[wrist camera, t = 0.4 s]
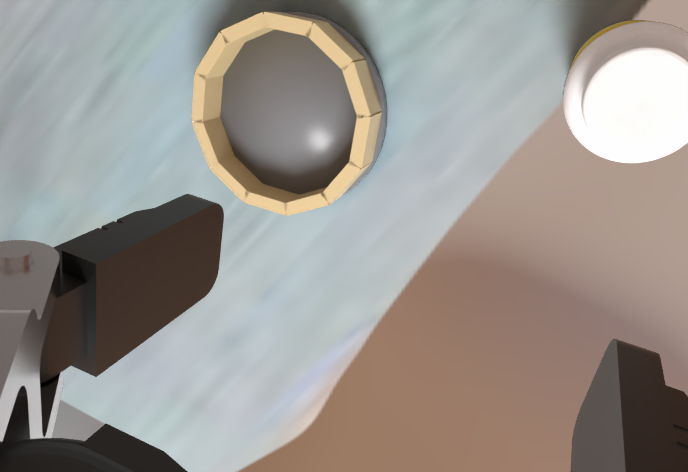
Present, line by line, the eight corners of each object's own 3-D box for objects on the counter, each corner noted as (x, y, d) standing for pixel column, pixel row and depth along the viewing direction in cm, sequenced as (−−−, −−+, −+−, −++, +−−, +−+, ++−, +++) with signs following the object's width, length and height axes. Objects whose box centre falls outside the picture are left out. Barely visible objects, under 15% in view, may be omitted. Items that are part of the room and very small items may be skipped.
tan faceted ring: (224, -5, 37) (196, -7, 34) (405, 32, 34) (389, 33, 31) (210, 176, 42) (185, 186, 39) (367, 224, 38) (351, 239, 36)
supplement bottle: (549, 58, 31) (533, 74, 22) (658, -3, 29) (688, -13, 20) (597, 150, 32) (599, 201, 23) (708, 98, 29) (759, 133, 20)
